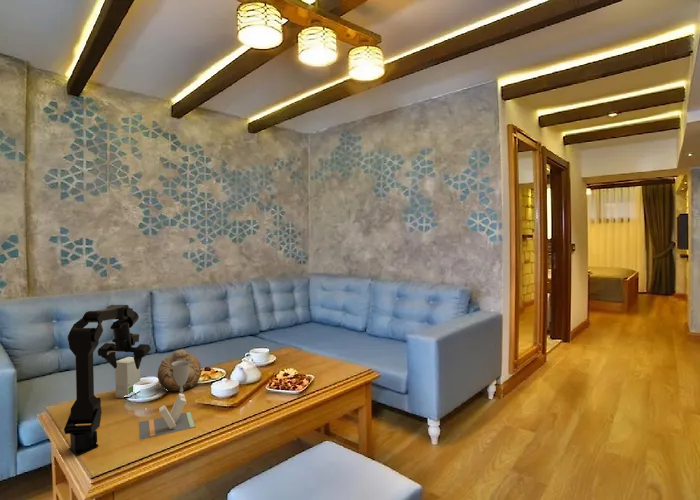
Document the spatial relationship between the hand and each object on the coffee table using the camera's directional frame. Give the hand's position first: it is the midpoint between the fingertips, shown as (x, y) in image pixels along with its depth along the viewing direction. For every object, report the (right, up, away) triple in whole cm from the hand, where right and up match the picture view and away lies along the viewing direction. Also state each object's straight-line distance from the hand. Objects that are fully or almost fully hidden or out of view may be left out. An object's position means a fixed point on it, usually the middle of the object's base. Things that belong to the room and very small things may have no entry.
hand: (126, 368), depth 164 cm
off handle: (+28, -15, -20) cm, 38 cm away
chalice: (+23, -16, -1) cm, 28 cm away
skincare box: (-5, -15, +11) cm, 19 cm away
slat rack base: (+25, -16, -18) cm, 35 cm away
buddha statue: (+14, -14, +20) cm, 28 cm away
